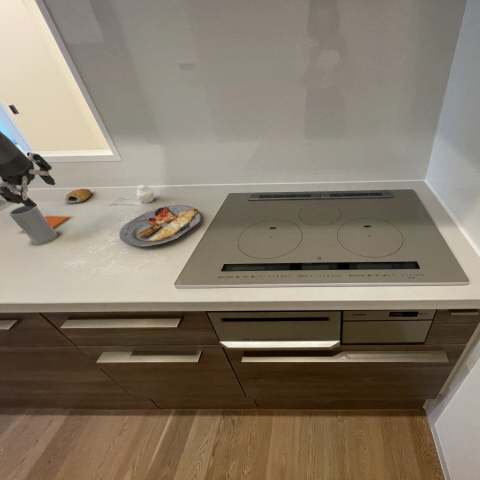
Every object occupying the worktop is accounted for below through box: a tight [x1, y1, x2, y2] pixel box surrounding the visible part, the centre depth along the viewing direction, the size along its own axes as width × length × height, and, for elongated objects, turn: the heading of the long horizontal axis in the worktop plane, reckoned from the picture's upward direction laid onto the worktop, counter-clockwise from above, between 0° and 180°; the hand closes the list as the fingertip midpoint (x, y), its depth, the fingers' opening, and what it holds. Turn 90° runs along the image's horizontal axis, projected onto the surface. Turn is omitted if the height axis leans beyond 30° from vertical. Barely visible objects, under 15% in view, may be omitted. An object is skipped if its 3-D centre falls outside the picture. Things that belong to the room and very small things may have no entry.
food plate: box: [118, 204, 202, 247], centre depth 90 cm, size 25×23×4 cm
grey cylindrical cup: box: [8, 205, 58, 245], centre depth 84 cm, size 6×6×11 cm
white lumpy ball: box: [135, 184, 155, 204], centre depth 105 cm, size 6×6×7 cm
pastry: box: [65, 188, 92, 204], centre depth 109 cm, size 9×7×4 cm
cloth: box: [21, 215, 70, 233], centre depth 94 cm, size 9×9×1 cm
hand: (42, 194), depth 79 cm, fingers open, 8 cm apart
